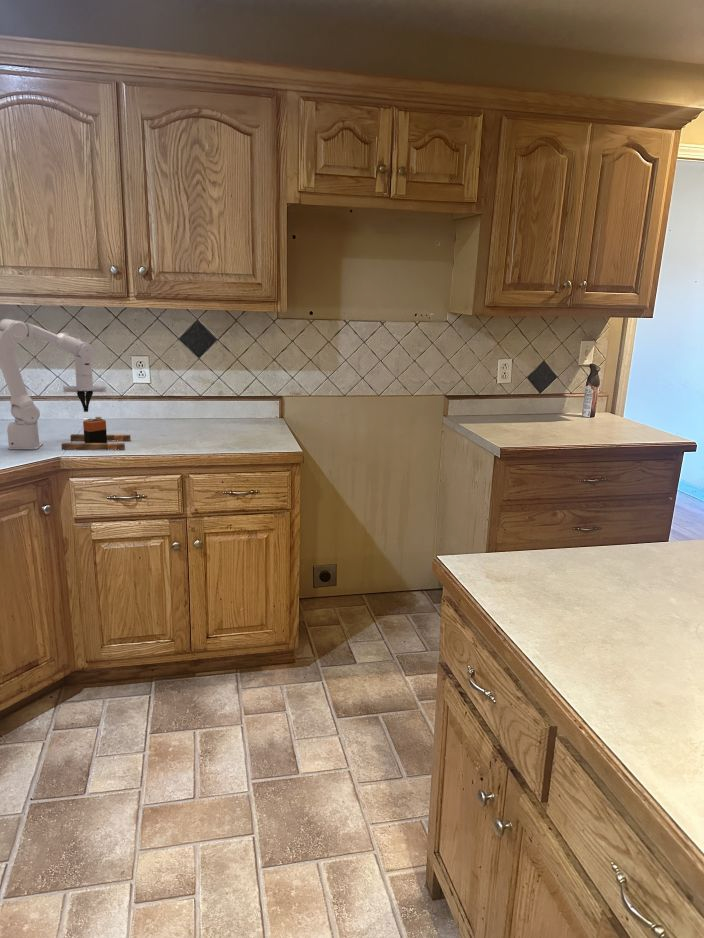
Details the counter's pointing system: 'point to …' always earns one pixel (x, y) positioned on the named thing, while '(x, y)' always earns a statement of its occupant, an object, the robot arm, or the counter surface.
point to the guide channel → (96, 445)
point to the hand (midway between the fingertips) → (86, 411)
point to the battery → (95, 430)
